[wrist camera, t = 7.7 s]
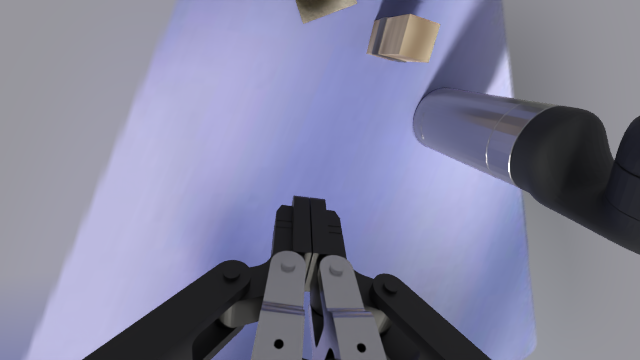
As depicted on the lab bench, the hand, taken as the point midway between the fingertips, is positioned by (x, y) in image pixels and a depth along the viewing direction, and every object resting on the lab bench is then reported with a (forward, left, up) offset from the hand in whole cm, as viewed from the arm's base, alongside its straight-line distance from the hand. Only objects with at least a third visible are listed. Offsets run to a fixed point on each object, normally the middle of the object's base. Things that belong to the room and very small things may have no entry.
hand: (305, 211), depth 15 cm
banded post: (-19, -6, -27) cm, 34 cm away
